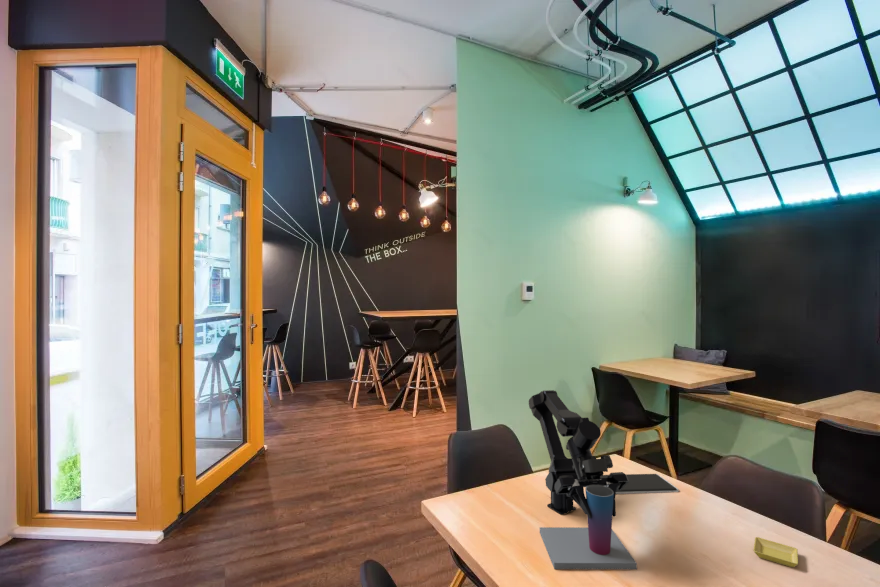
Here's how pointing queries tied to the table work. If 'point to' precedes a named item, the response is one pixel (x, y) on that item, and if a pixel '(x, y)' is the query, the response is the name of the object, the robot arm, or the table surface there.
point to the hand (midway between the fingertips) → (602, 517)
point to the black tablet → (646, 484)
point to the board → (583, 550)
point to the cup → (600, 518)
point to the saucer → (776, 552)
